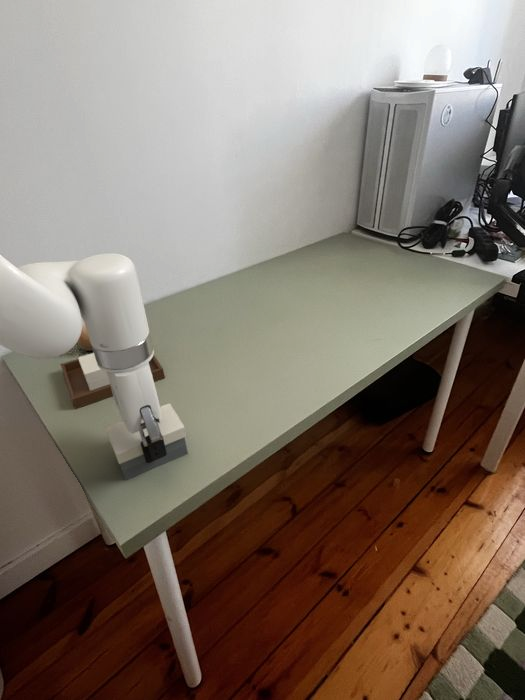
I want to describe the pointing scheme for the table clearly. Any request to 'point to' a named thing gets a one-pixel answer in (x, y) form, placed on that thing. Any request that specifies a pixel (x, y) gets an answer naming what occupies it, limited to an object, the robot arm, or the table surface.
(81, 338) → the fruit
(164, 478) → the table surface
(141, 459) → the grey book upper
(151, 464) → the grey book lower
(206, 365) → the table surface
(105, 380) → the white book lower
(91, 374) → the white book upper
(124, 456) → the white book
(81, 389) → the book tray
